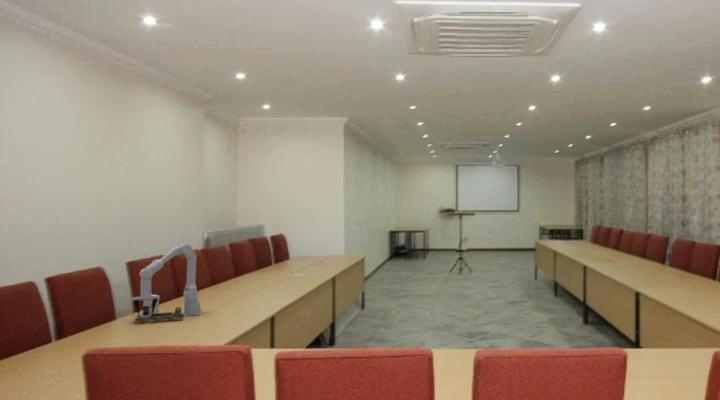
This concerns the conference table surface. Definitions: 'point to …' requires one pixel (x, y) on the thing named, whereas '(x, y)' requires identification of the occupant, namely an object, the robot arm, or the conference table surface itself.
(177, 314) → the board
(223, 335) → the conference table surface
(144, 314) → the carriage
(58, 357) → the conference table surface
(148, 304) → the ink box
